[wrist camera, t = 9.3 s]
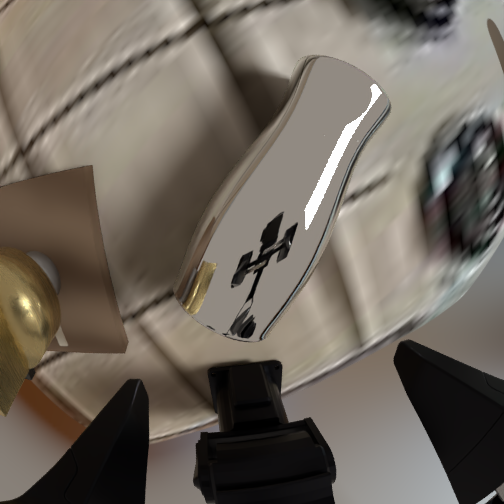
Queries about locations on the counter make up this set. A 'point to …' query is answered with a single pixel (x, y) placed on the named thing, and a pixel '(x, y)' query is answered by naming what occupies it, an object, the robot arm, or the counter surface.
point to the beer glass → (280, 202)
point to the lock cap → (23, 320)
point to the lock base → (66, 255)
